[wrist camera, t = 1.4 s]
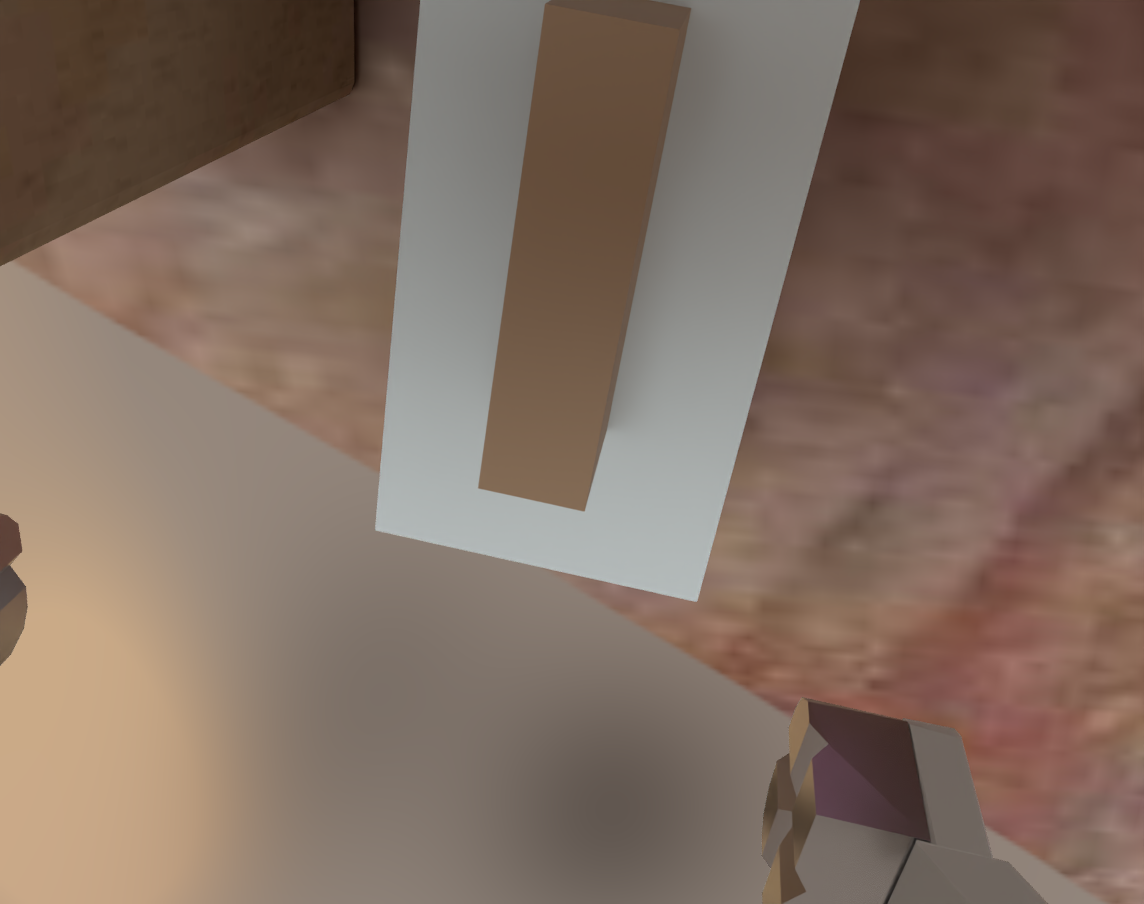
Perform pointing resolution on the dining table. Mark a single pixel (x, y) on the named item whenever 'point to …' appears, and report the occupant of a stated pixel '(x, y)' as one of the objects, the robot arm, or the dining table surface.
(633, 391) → the lid
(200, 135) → the wooden block
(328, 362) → the dining table surface
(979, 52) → the dining table surface
